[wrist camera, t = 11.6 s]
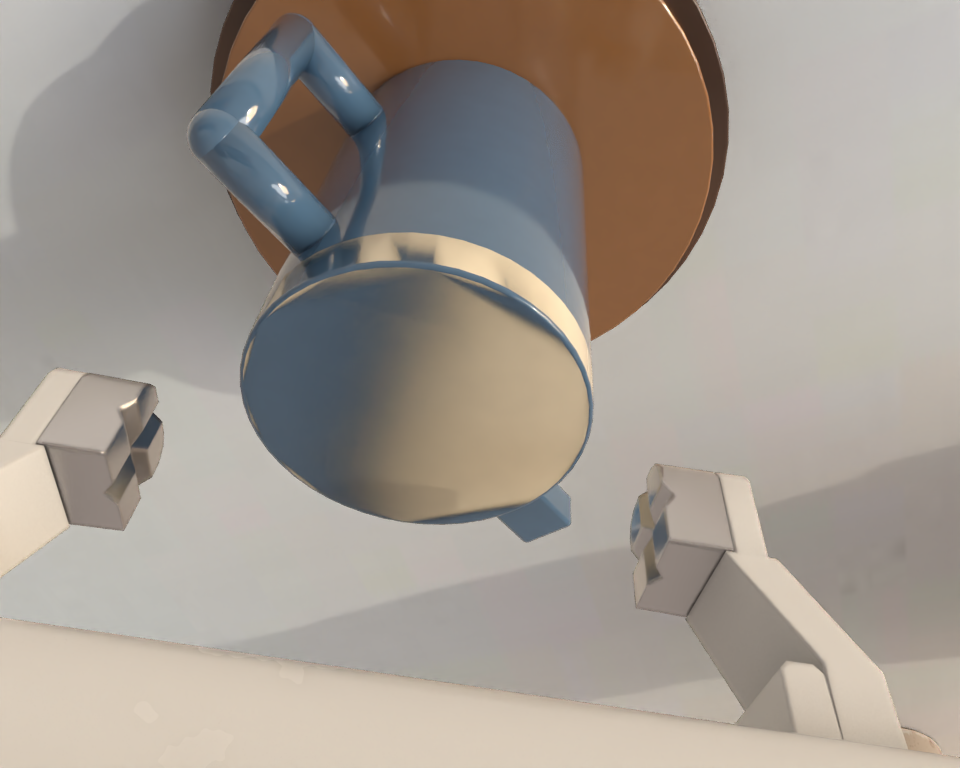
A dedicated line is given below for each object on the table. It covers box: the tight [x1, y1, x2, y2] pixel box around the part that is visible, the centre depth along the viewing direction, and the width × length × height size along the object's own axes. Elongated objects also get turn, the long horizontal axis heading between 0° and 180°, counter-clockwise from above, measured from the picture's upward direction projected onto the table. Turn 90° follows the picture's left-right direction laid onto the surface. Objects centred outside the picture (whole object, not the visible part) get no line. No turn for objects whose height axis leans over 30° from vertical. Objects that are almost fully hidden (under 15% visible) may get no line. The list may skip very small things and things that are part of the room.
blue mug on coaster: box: [187, 0, 714, 542], centre depth 18 cm, size 13×13×10 cm
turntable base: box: [210, 0, 729, 306], centre depth 22 cm, size 14×14×2 cm
